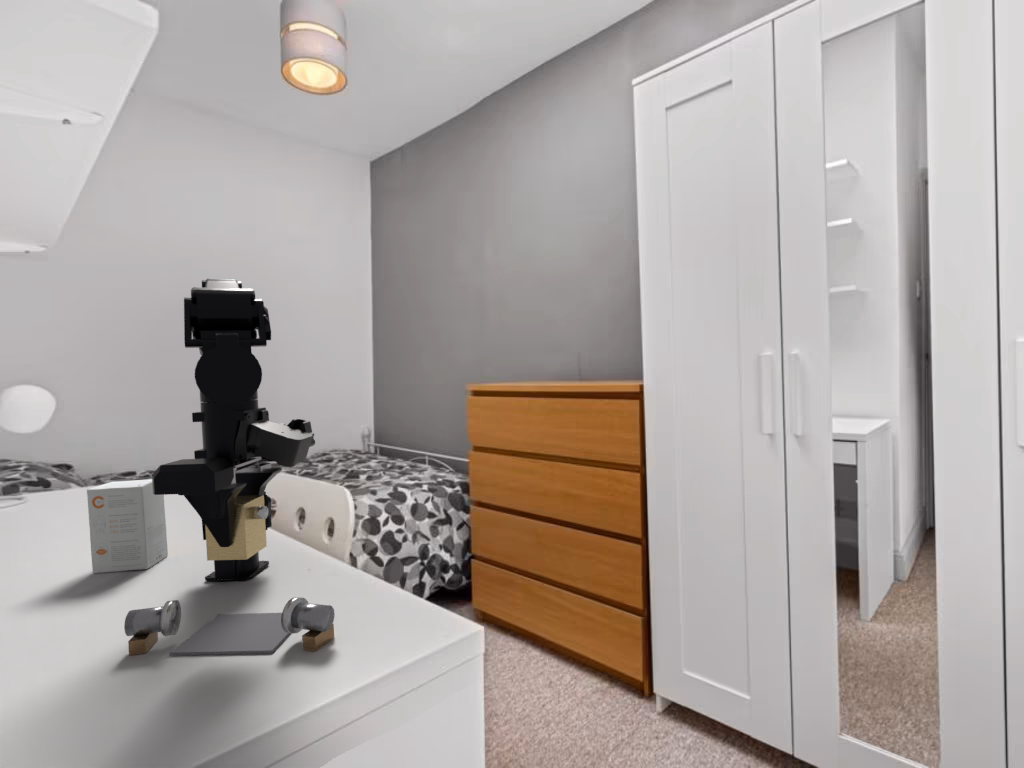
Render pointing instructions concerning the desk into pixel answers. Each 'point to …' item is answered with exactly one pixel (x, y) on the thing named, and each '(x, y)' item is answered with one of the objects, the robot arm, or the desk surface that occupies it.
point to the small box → (126, 526)
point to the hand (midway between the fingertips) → (237, 539)
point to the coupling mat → (236, 635)
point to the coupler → (242, 531)
